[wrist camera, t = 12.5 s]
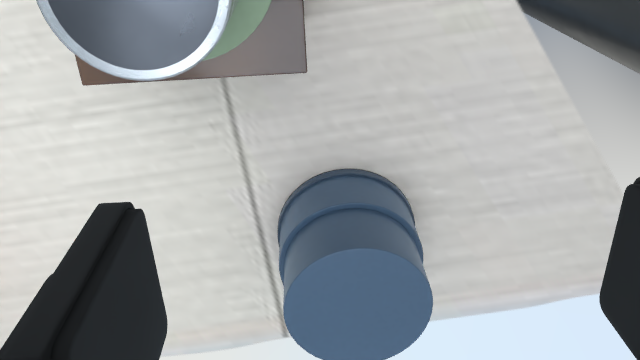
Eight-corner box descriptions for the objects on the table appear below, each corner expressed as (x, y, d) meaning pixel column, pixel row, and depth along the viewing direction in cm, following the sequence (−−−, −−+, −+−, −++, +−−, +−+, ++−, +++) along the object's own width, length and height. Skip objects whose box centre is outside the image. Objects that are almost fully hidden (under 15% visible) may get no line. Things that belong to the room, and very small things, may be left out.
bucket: (415, 164, 43) (447, 234, 34) (411, 279, 48) (437, 366, 40) (272, 173, 43) (266, 246, 34) (283, 287, 48) (281, 376, 39)
